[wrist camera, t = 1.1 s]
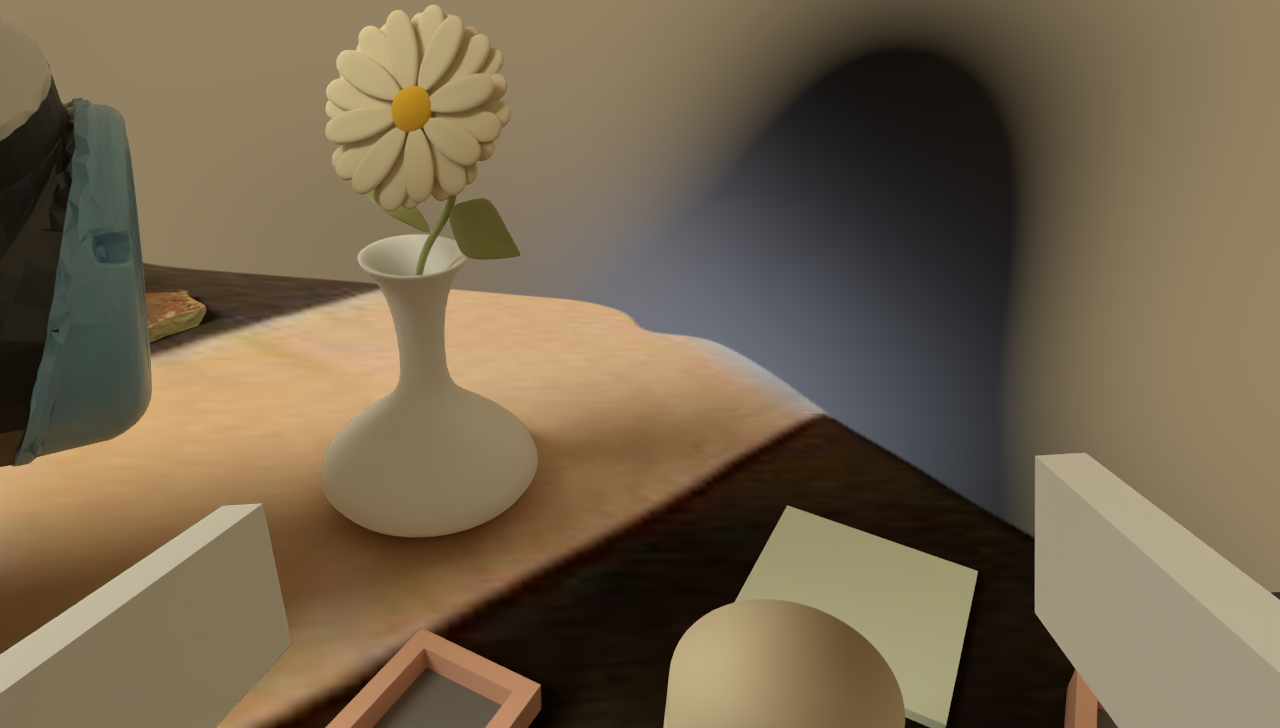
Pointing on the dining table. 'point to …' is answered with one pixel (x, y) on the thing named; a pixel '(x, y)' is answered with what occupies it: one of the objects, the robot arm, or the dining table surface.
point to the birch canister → (779, 672)
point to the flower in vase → (424, 277)
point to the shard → (171, 312)
